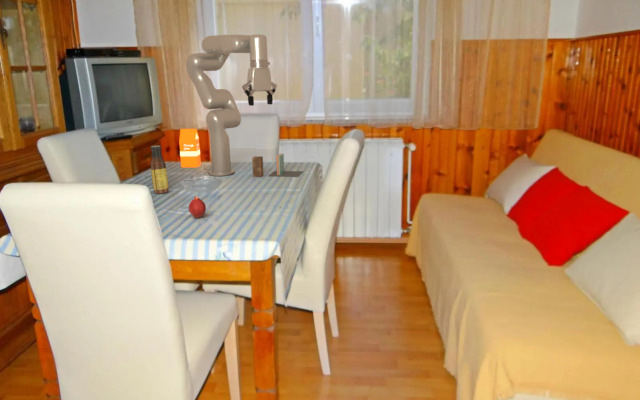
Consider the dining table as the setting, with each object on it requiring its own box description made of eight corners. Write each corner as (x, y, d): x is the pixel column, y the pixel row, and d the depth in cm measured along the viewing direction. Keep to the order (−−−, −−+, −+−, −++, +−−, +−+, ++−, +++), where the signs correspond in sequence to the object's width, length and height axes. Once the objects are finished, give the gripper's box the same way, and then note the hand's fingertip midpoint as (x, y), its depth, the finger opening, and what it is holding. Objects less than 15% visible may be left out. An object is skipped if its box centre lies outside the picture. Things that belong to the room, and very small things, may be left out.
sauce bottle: (171, 191, 222) (168, 145, 217) (163, 194, 216) (158, 147, 212) (159, 190, 224) (154, 144, 219) (149, 193, 219) (145, 146, 214)
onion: (190, 216, 184) (189, 194, 182) (207, 215, 185) (205, 193, 183) (188, 220, 179) (186, 198, 177) (205, 220, 179) (203, 197, 177)
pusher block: (253, 178, 246) (252, 157, 243) (255, 176, 250) (254, 156, 247) (261, 178, 245) (260, 157, 243) (263, 177, 249) (262, 156, 247)
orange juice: (197, 167, 276) (194, 129, 271) (181, 167, 276) (178, 129, 271) (201, 164, 283) (198, 128, 278) (185, 164, 283) (182, 128, 278)
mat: (267, 178, 247) (267, 176, 246) (274, 172, 260) (274, 170, 260) (298, 178, 244) (298, 177, 244) (304, 172, 258) (304, 171, 257)
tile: (277, 174, 250) (276, 156, 247) (280, 171, 257) (280, 153, 255) (280, 174, 249) (279, 156, 247) (284, 171, 257) (283, 153, 255)
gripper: (270, 64, 232) (272, 103, 236) (237, 64, 221) (239, 105, 225) (280, 64, 226) (281, 104, 230) (246, 64, 216) (248, 106, 220)
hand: (260, 104), depth 228 cm, fingers open, 9 cm apart
